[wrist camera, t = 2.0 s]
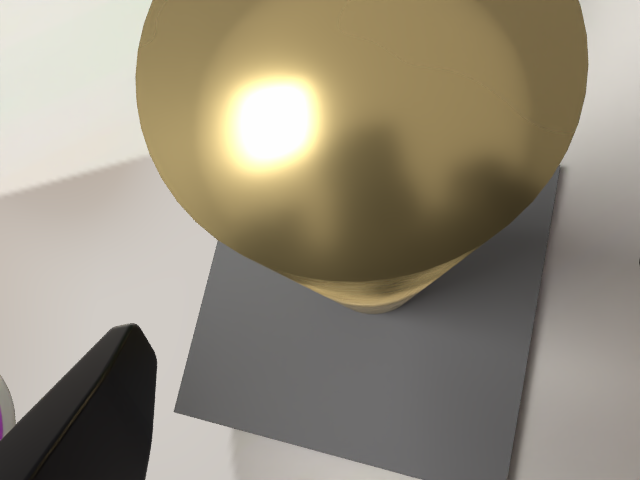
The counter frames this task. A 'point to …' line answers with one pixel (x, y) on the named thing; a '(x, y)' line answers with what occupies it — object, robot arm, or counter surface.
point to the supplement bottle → (6, 410)
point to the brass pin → (359, 128)
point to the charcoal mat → (377, 359)
